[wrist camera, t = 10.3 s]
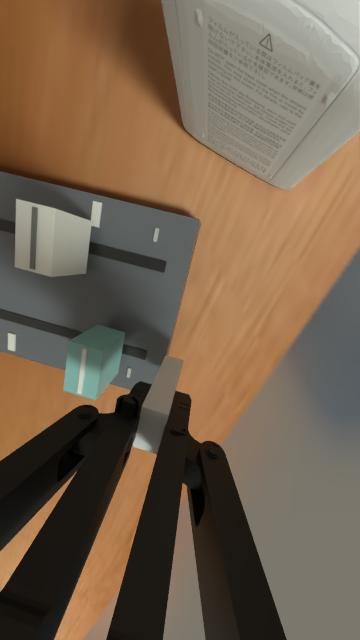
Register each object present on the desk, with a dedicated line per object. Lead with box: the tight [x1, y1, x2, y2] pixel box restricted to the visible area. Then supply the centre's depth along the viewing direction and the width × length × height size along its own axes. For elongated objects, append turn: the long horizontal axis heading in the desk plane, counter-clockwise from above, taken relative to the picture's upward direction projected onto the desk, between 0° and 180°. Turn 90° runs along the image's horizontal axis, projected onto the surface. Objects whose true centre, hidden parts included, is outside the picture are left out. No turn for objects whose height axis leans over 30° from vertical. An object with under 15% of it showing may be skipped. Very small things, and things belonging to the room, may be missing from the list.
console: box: [0, 171, 201, 390], centre depth 20 cm, size 16×22×2 cm
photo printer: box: [161, 0, 360, 190], centre depth 10 cm, size 10×4×12 cm, turn 61°
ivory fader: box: [15, 199, 92, 277], centre depth 15 cm, size 4×2×5 cm, turn 166°
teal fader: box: [64, 325, 125, 400], centre depth 17 cm, size 4×2×5 cm, turn 166°
